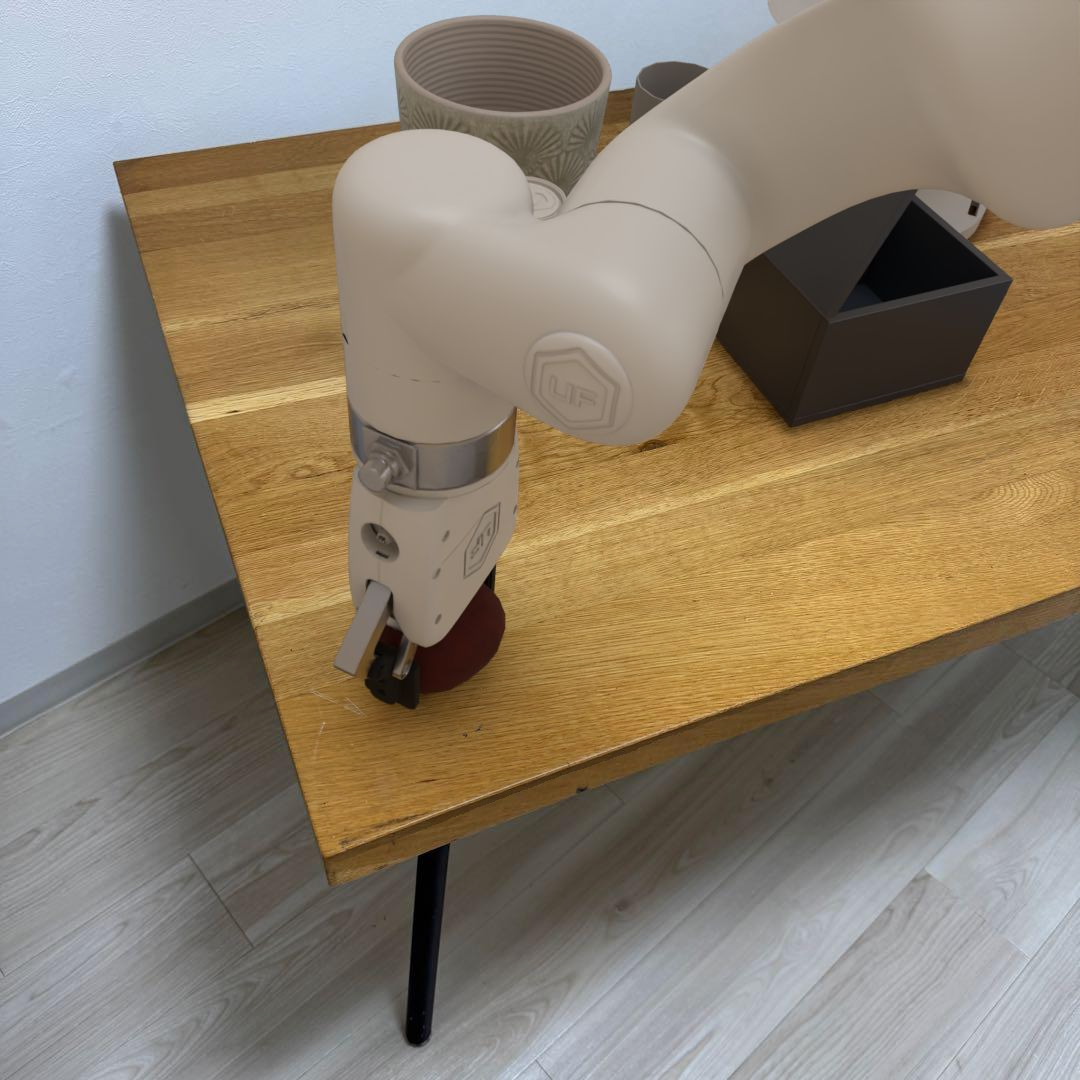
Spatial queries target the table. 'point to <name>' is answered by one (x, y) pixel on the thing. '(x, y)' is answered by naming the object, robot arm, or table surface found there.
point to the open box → (867, 323)
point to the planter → (508, 90)
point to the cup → (661, 84)
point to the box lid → (839, 249)
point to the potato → (459, 644)
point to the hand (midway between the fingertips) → (432, 638)
